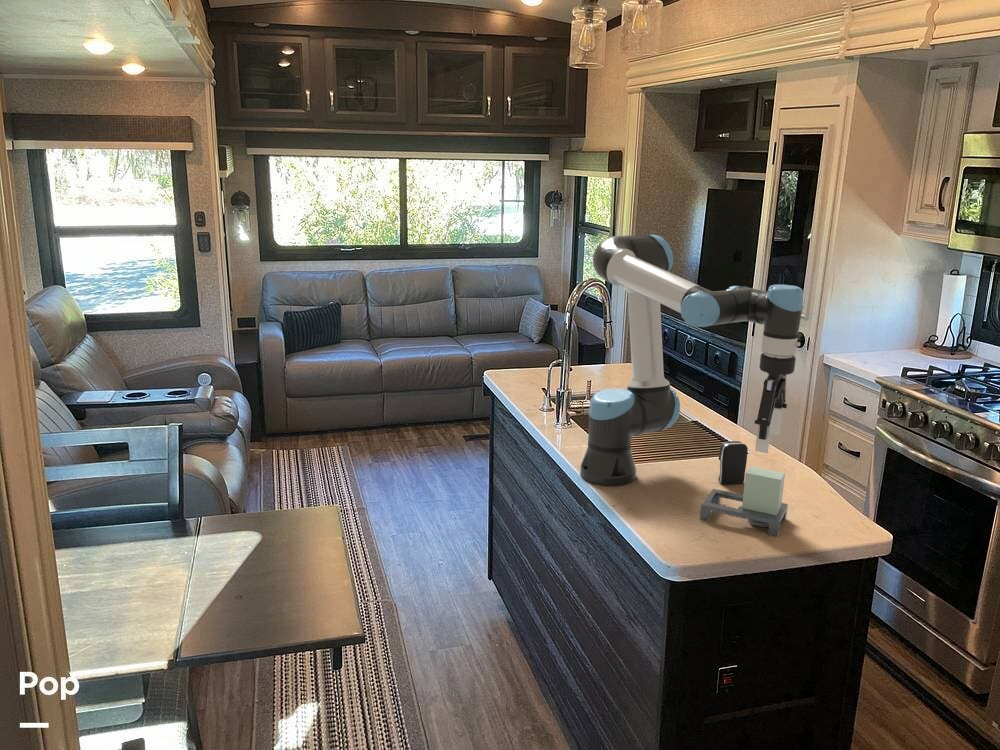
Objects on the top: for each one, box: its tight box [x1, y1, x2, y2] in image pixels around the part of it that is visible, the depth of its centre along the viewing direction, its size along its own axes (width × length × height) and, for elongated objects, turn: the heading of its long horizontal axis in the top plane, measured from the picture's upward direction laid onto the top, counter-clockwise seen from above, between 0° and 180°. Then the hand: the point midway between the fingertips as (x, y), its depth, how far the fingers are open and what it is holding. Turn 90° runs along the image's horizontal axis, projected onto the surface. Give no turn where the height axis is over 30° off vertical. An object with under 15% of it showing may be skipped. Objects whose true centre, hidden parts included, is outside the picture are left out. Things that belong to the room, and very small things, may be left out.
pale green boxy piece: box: [741, 466, 786, 528], centre depth 186 cm, size 8×6×12 cm
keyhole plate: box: [699, 488, 789, 537], centre depth 189 cm, size 18×11×4 cm, turn 60°
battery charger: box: [718, 440, 749, 485], centre depth 210 cm, size 7×4×11 cm, turn 100°
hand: (767, 442), depth 183 cm, fingers open, 13 cm apart
